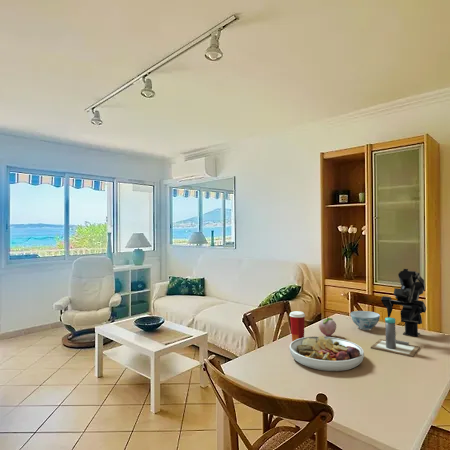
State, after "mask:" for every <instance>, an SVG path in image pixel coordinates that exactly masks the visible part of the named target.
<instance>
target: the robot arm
mask: <svg viewBox="0 0 450 450" xmlns="http://www.w3.org/2000/svg"><path fill="white" fill-rule="evenodd" d="M398 279H399V284H400V285H401V287H400V288H397V287H396V288H395V287H394V290H393V295H394V297H395V299H392V297H391V296H386V295H383V296H381V299H380V300H381V303H382V304H383V306H384V307H385V308H386V313H387V317H390V318H391V315H392V312H393V309H394V308H393V307H394V306H395V305H396V306H401V307H402V308H401V310H400V314H399V315H400V322H401V323H404V331H403V333H402V335H405V336H410V337H416V338H417V337H419V336H420V335H421V333H420V332H419V330H418V329H419V327H418V325H421V324H423V319H422V315H421V314H423V313H424V314H425V313H426V311H427V306H426V304H425V302H424V300H419V298H420V295H423V294H424V292H425V290H426V283H425V279H423V277H422V276H421V274H420V272H417V271H415V270H409V268H403V270H401V271H399V272H398Z"/></svg>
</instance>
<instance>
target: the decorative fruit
mask: <svg viewBox="0 0 450 450" xmlns="http://www.w3.org/2000/svg"><path fill="white" fill-rule="evenodd" d="M318 328H319V331H320V332H321V333H322V334H323V335H324V336H325V337H331V336H333V334H334V333H335V332H336V330H337V323H336V321H335V320H334V319H333V318H332V317H328V316H327V317H326V318H323V319H321V320H320V321H319V323H318Z"/></svg>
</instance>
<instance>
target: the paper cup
mask: <svg viewBox="0 0 450 450" xmlns="http://www.w3.org/2000/svg"><path fill="white" fill-rule="evenodd" d="M305 317H306V314H305V313H304V311H301V310H300V311H291V312H290V313H289V318H290V319H289V320H290V331H291V340H292V341H291V342H293V341H294V340H297V339H300V338H304V337H305V323H306V322H305Z"/></svg>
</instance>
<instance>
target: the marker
mask: <svg viewBox="0 0 450 450" xmlns="http://www.w3.org/2000/svg"><path fill="white" fill-rule="evenodd" d="M384 321H385V323H384V324H385V340H386V348H389V349H396V340H397V338H396V337H397V336H396V335H397V334H396V318H395V317H391V316H390V317H388V316H387V317H385V318H384Z"/></svg>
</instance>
